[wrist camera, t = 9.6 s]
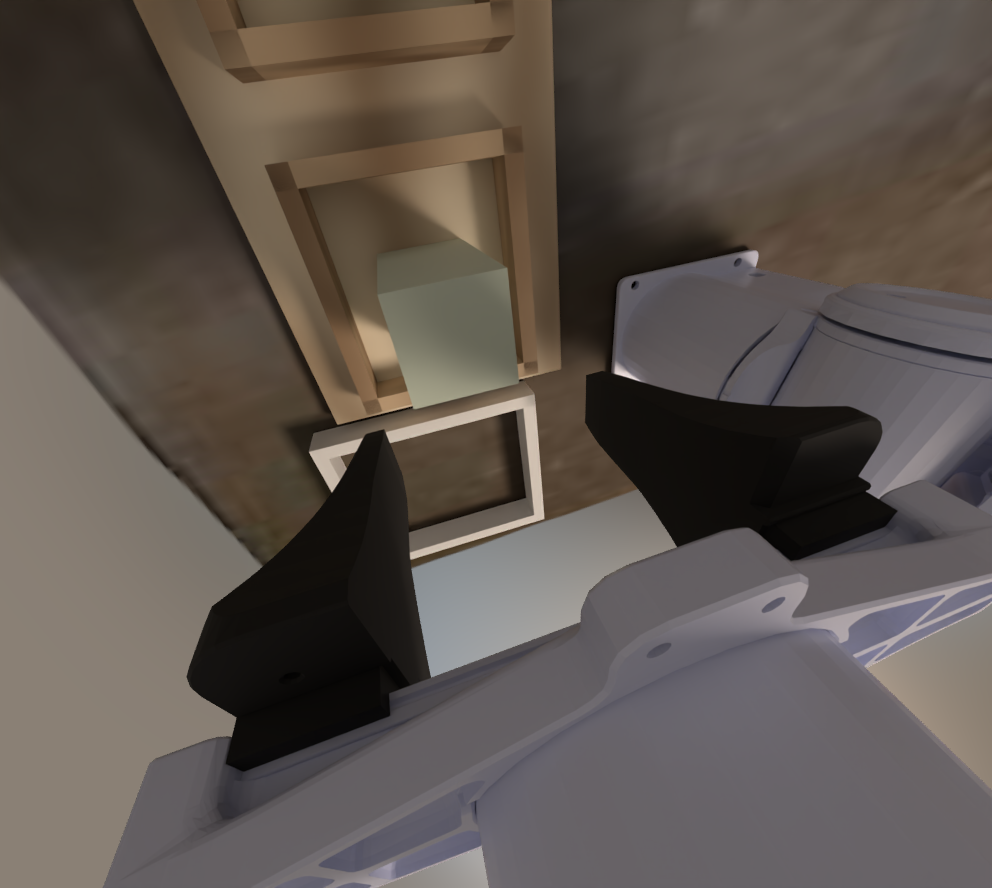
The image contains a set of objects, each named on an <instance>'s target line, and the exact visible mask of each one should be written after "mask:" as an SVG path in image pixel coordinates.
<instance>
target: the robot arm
mask: <svg viewBox="0 0 992 888" xmlns="http://www.w3.org/2000/svg"><path fill="white" fill-rule="evenodd" d="M736 259H737V261H736V263H735V264H734V262H735V260H736ZM757 260H758V252H757V251H756V250H746V251H741V252H737V253H732V254H728V255H723V256H719V257H714V258H710V259H705V260H700V261H696V262H691V263H687V264H682V265H678V266H673V267H669V268H664V269H659V270H655V271H650V272H646V273H641V274H637V275H632V276H628V277H624V278H622V279H621V280H620V281H619V283H618V285H617V294H616V309H615V325H614V340H613V355H612V370H611V373H609V372H604V371H601V372H597V373H593V374H589V375H586V415H585V423H586V425H587V426H588V428H589V430H590V431H591V433H592V435H593V436H594V438H595V439H596V441H597V442H598V443H599V445H600V446H601V447H602V448H603V449H604V451H605V452H606V453H607V454H608V455H609V456H610V457H611V459H612V460H613V461H614V462H615V463H616V464H617V465H618V466H619V468H620V469H621V470H622V471H623V472H624V473H625V474H626V475H627V477H628V478H629V479H630V480H631V481H632V482H633V483H634V484H635V486H636V487H637V488H638V489H639V491H640V492H641V493H642V495H643V496H644V497H645V499H646V500H647V502H648V503H649V505H650V506H651V507H652V509H653V510H654V512H655V513H656V515H657V516H658V518H659V519H660V521H661V522H662V524H663V525H664V527H665V528H666V530H667V531H668V533H669V535H670V536H671V538H672V539H673V541H674V543H675V544H676V546H677V548H674V549H671V550H668V551H665V552H663V553H660V554H657V555H654V556H651V557H649V558H646V559H643V560H640V561H637V562H634V563H632V564H629V565H626V566H624V567H622V568H621V569H618V570H616V571H615V572H613V573H611V574H609V575H607V576H605V577H604V578H603V579H602V580H601V581H600V582H599V583H597V584H596V585H595V586H594V587H593V588H592V589H591V590H590V591H589V592H588V595H587V597H586V599H585V602H584V604H583V607H582V609H581V622H580V623H577V624H574V625H571V626H569V627H566V628H563V629H561V630H558V631H555V632H553V633H550V634H547V635H545V636H542V637H539V638H537V639H534V640H531V641H529V642H526V643H523V644H520V645H518V646H515V647H512V648H510V649H507V650H504V651H502V652H499V653H496V654H494V655H491V656H488V657H486V658H483V659H480V660H478V661H475V662H472V663H470V664H467V665H464V666H462V667H459V668H456V669H454V670H451V671H448V672H445V673H443V674H440V675H437V676H435V677H432V678H431V676H430V671H429V666H428V661H427V656H426V650H425V645H424V640H423V634H422V629H421V624H420V618H419V612H418V606H417V601H416V595H415V589H414V583H413V577H412V570H411V561H410V546H409V526H408V507H407V497H406V491H405V486H404V481H403V476H402V473H401V470H400V468H399V465H398V463H397V460H396V458H395V455H394V452H393V450H392V447H391V445H390V442H389V440H388V437H387V435H386V432H385V429H382V430H379V431H375V432H371V433H367V434H365V436H364V438H363V439H362V441H361V443H360V445H359V447H358V449H357V451H356V453H355V455H354V457H353V459H352V460H351V462H350V464H349V466H348V468H347V469H346V471H345V473H344V475H343V476H342V478H341V480H340V481H339V483H338V484H337V486H336V487H335V489H334V490H333V492H332V493H331V495H330V496H329V498H328V499H327V500H326V502H325V503H324V504H323V505H322V507H321V508H320V509H319V510H318V512H317V513H316V514H315V515H314V517H313V518H312V519H311V520H310V521H309V522H308V523H307V524H306V525H305V526H304V528H303V529H302V530H301V531H300V532H299V533H298V534H297V535H296V536H295V537H294V538H293V539H292V540H291V541H290V542H289V543H288V544H287V545H286V546H285V547H284V548H283V549H282V550H281V551H280V552H279V553H278V554H277V555H275V556H274V557H273V558H272V559H271V560H270V561H269V562H268V563H266V564H265V565H264V566H263V567H262V568H261V569H260V570H258V572H256V573H255V574H254V575H252V576H251V577H250V578H249V579H247V580H246V581H245V582H243V583H242V584H241V585H240V586H239V587H237V588H236V589H235V590H233V591H232V592H231V593H229V594H228V595H227V596H225V597H224V598H223V599H221V600H220V601H219V602H217V603H216V604H215V605H213V606H212V608H211V610H210V612H209V615H208V618H207V620H206V622H205V625H204V627H203V630H202V633H201V636H200V638H199V641H198V644H197V647H196V650H195V652H194V655H193V658H192V661H191V664H190V666H189V670H188V674H187V679H188V682H189V685H190V687H191V688H192V689H193V690H194V691H195V692H197V693H198V694H199V695H200V696H201V697H203V698H205V699H206V700H208V701H210V702H211V703H213V704H215V705H216V706H218V707H220V708H221V709H223V710H225V711H227V712H228V713H230V714H232V715H233V716H235V717H237V718H236V723H235V727H234V731H233V735H232V737H228V736H226V737H216V738H212V739H208V740H205V741H202V742H200V743H197V744H194V745H192V746H189V747H186V748H183V749H180V750H178V751H175V752H172V753H170V754H167V755H164V756H162V757H159V758H156V759H155V760H153V761H152V762H151V763H150V764H149V766H148V769H147V771H146V774H145V777H144V779H143V782H142V785H141V787H140V790H139V793H138V795H137V798H136V801H135V803H134V806H133V809H132V811H131V814H130V817H129V819H128V822H127V825H126V827H125V830H124V833H123V836H122V838H121V841H120V843H119V846H118V849H117V851H116V854H115V857H114V859H113V862H112V865H111V867H110V870H109V873H108V875H107V878H106V881H105V883H104V886H103V888H377V887H380V886H383V885H385V884H388V883H390V882H393V881H396V880H398V879H400V878H403V877H406V876H409V875H411V874H414V873H416V872H419V871H421V870H424V869H427V868H429V867H432V866H434V865H437V864H440V863H442V862H445V861H447V860H450V859H453V858H455V857H458V856H460V855H463V854H466V853H468V852H471V851H473V850H476V849H479V848H481V847H482V850H483V856H484V862H485V867H486V873H487V879H488V885H489V888H992V790H991V789H990V788H989V787H988V786H987V785H986V784H985V783H984V782H983V781H982V780H981V779H980V778H979V777H978V776H977V775H976V774H974V772H972V770H971V769H970V768H968V767H967V766H966V765H965V764H964V763H963V762H962V761H961V760H960V759H959V758H958V757H957V756H956V755H955V754H954V753H953V752H952V751H951V750H950V749H949V748H948V747H947V746H946V745H945V744H944V743H943V742H942V741H941V740H940V739H938V738H937V737H936V736H935V735H934V734H933V733H932V732H931V731H930V730H929V729H928V728H927V727H926V726H925V725H924V724H923V723H922V722H921V721H920V720H919V719H918V718H917V717H916V716H915V715H914V714H913V713H912V712H911V711H909V709H907V707H905V706H904V705H903V704H902V703H901V702H900V701H899V700H898V699H897V698H896V697H895V696H894V695H893V694H892V693H891V692H890V691H889V690H888V689H887V688H886V687H885V686H884V685H883V684H882V683H881V682H880V681H879V680H878V679H877V678H876V677H875V676H873V675H872V674H871V673H870V672H869V671H868V670H867V669H866V668H867V667H869V666H871V665H873V664H875V663H877V662H879V661H881V660H883V659H885V658H886V657H889V656H890V655H892V654H894V653H896V652H898V651H900V650H902V649H904V648H906V647H908V646H910V645H912V644H914V643H916V642H918V641H920V640H922V639H924V638H926V637H928V636H930V635H932V634H934V633H936V632H938V631H940V630H942V629H944V628H946V627H948V626H951V625H953V624H955V623H957V622H959V621H961V620H964V619H966V618H968V617H970V616H972V615H974V614H976V613H979V612H980V611H982V610H983V609H985V608H986V607H987V606H989V605H990V604H992V299H987V298H981V297H976V296H970V295H963V294H957V293H951V292H944V291H937V290H930V289H923V288H915V287H907V286H897V285H887V284H873V283H858V284H854V285H851V286H849V287H847V288H843V287H839V286H835V285H831V284H826V283H821V282H817V281H812V280H808V279H803V278H798V277H794V276H789V275H785V274H780V273H776V272H771V271H766V270H762V269H757V268H755V267H756V264H757ZM634 281H635V282H636V284H635V286H634V287H633V288H631V286H632V283H633V282H634Z"/></svg>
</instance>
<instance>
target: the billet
mask: <svg viewBox="0 0 992 888" xmlns="http://www.w3.org/2000/svg"><path fill="white" fill-rule="evenodd" d="M377 295H378V298H379V301H380V305H381V308H382V311H383V314H384V317H385V320H386V323H387V327H388V330H389V333H390V336H391V339H392V342H393V345H394V349H395V352H396V355H397V358H398V361H399V364H400V368H401V371H402V374H403V377H404V380H405V383H406V386H407V390H408V393H409V396H410V399H411V402H412V405H413V408H414V409H418V408H422V407H426V406H430V405H434V404H438V403H442V402H446V401H450V400H454V399H458V398H462V397H466V396H470V395H474V394H478V393H482V392H486V391H490V390H494V389H498V388H502V387H506V386H510V385H514V384H518V383H519V375H518V366H517V356H516V347H515V337H514V328H513V318H512V309H511V299H510V290H509V280H508V270H507V267H505V266H504V265H502V264H500V263H499V262H497V261H496V260H494V259H492V258H491V257H489V256H488V255H486V254H485V253H483V252H481V251H480V250H478V249H477V248H475V247H473V246H472V245H470V244H469V243H467V242H466V241H464V240H462V239H461V238H458V239H453V240H447V241H442V242H437V243H432V244H427V245H421V246H416V247H411V248H406V249H401V250H395V251H390V252H385V253H380V254H377Z"/></svg>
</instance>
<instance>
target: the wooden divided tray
mask: <svg viewBox="0 0 992 888" xmlns="http://www.w3.org/2000/svg"><path fill="white" fill-rule="evenodd" d="M133 1H134V4H135V6H136V8H137V10H138V12H139V14H140V16H141V18H142V20H143V22H144V24H145V26H146V28H147V31H148V33H149V35H150V37H151V39H152V41H153V43H154V45H155V47H156V49H157V51H158V53H159V55H160V58H161V60H162V62H163V64H164V66H165V68H166V70H167V72H168V74H169V76H170V78H171V80H172V82H173V84H174V87H175V89H176V91H177V93H178V95H179V97H180V99H181V101H182V103H183V105H184V107H185V109H186V111H187V114H188V116H189V118H190V120H191V122H192V124H193V126H194V128H195V130H196V132H197V134H198V136H199V138H200V141H201V143H202V145H203V147H204V149H205V151H206V153H207V155H208V157H209V159H210V161H211V163H212V165H213V168H214V170H215V172H216V174H217V176H218V178H219V180H220V182H221V184H222V186H223V188H224V190H225V192H226V194H227V197H228V199H229V201H230V203H231V205H232V207H233V209H234V211H235V213H236V215H237V217H238V219H239V221H240V224H241V226H242V228H243V230H244V232H245V234H246V236H247V238H248V240H249V242H250V244H251V246H252V248H253V251H254V253H255V255H256V257H257V259H258V261H259V263H260V265H261V267H262V269H263V271H264V273H265V275H266V278H267V280H268V282H269V284H270V286H271V288H272V290H273V292H274V294H275V296H276V298H277V300H278V302H279V304H280V307H281V309H282V311H283V313H284V315H285V317H286V319H287V321H288V323H289V325H290V327H291V329H292V331H293V334H294V336H295V338H296V340H297V342H298V344H299V346H300V348H301V350H302V352H303V354H304V356H305V358H306V361H307V363H308V365H309V367H310V369H311V371H312V373H313V375H314V377H315V379H316V381H317V383H318V385H319V387H320V390H321V392H322V394H323V396H324V398H325V400H326V402H327V404H328V406H329V408H330V410H331V412H332V414H333V417H334V419H335V421H336V423H337V425H339V424H343V423H347V422H351V421H355V420H359V419H363V418H367V417H371V416H375V415H379V414H383V413H387V412H391V411H395V410H399V409H403V408H407V407H411V406H413V405H412V402H411V399H410V396H409V393H408V390H407V386H406V383H405V380H404V377H403V374H402V371H401V368H400V364H399V361H398V358H397V355H396V352H395V349H394V345H393V342H392V339H391V336H390V333H389V330H388V327H387V323H386V320H385V317H384V314H383V311H382V308H381V305H380V301H379V298H378V295H377V254H380V253H385V252H390V251H395V250H401V249H406V248H411V247H416V246H421V245H427V244H432V243H437V242H442V241H447V240H453V239H458V238H461V239H462V240H464V241H466V242H467V243H469V244H470V245H472V246H473V247H475V248H477V249H478V250H480V251H481V252H483V253H485V254H486V255H488V256H489V257H491V258H492V259H494V260H496V261H497V262H499V263H500V264H502V265H504V266H505V267H507V270H508V280H509V290H510V299H511V309H512V318H513V328H514V337H515V347H516V356H517V366H518V375H519V379H523V378H527V377H531V376H535V375H539V374H543V373H547V372H551V371H555V370H559V369H561V345H560V306H559V268H558V229H557V191H556V153H555V114H554V76H553V37H552V0H133Z"/></svg>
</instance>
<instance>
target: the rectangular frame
mask: <svg viewBox="0 0 992 888" xmlns="http://www.w3.org/2000/svg"><path fill="white" fill-rule="evenodd" d="M515 410H516V416H517V425H518V433H519V442H520V450H521V459H522V467H523V476H524V484H525V493H526V498H524V499H521V500H517V501H514V502H511V503H507V504H504V505H500V506H497V507H494V508H490V509H487V510H483V511H480V512H477V513H473V514H470V515H467V516H463V517H460V518H456V519H453V520H450V521H446V522H443V523H439V524H436V525H433V526H429V527H426V528H422V529H419V530H416V531H412V532H409V546H410V560H411V559H414V558H417V557H421V556H424V555H427V554H430V553H434V552H437V551H440V550H444V549H447V548H450V547H453V546H457V545H460V544H463V543H467V542H470V541H473V540H476V539H480V538H483V537H486V536H490V535H493V534H496V533H499V532H503V531H506V530H509V529H512V528H516V527H519V526H522V525H526V524H529V523H532V522H535V521H539V520H542V519H544V509H543V496H542V483H541V470H540V457H539V445H538V432H537V419H536V406H535V394H534V393H533V391H532V390H531V389H530V387H529V386H528V385H527V383H526V382H525V381H520V382H519V383H518V384H514V385H510V386H506V387H502V388H498V389H494V390H490V391H486V392H482V393H478V394H474V395H470V396H466V397H462V398H458V399H454V400H450V401H446V402H442V403H438V404H434V405H430V406H426V407H422V408H418V409H414V408H412V409H408V410H404V411H400V412H396V413H392V414H388V415H384V416H380V417H376V418H372V419H368V420H364V421H360V422H356V423H352V424H348V425H344V426H340V427H336V428H332V429H328V430H324V431H320V432H316V433H313V437H312V441H311V445H310V449H309V453H310V455H311V457H312V459H313V460H314V462H315V464H316V466H317V467H318V469H319V471H320V473H321V474H322V476H323V478H324V480H325V481H326V483H327V485H328V487H329V488H330V490H331V492H333V490H334V489H335V487H336V486H337V484H338V483H339V481H340V480H341V478H342V476H343V475H344V473H345V471H346V469H347V468H346V467H345V465H344V463H343V461H342V459H341V457H340V456H342V455H346V454H350V453H354V452H356V451H357V449H358V447H359V445H360V443H361V441H362V439H363V438H364V436H365V434H367V433H371V432H375V431H379V430H382V429H385V432H386V435H387V437H388V440H389V442H390V443H392V442H396V441H400V440H404V439H408V438H411V437H415V436H419V435H423V434H427V433H431V432H434V431H438V430H442V429H446V428H450V427H454V426H457V425H461V424H465V423H469V422H473V421H477V420H480V419H484V418H488V417H492V416H496V415H500V414H503V413H507V412H511V411H515Z"/></svg>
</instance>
